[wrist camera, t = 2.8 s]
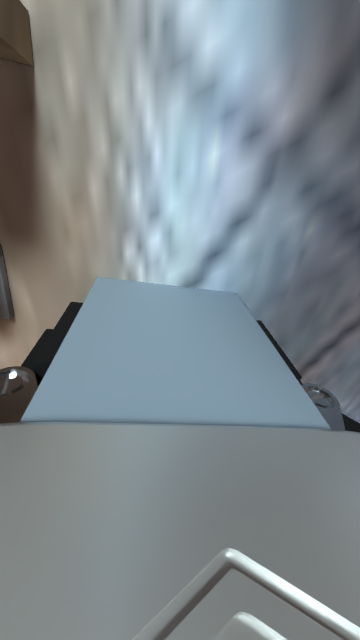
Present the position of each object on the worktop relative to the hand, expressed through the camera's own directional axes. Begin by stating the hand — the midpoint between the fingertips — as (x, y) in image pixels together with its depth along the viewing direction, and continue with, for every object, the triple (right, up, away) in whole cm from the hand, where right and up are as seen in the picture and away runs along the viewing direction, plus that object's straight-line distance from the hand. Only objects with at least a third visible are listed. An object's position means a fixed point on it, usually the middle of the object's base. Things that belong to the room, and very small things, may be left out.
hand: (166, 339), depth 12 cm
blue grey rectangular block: (0, +1, +2) cm, 2 cm away
